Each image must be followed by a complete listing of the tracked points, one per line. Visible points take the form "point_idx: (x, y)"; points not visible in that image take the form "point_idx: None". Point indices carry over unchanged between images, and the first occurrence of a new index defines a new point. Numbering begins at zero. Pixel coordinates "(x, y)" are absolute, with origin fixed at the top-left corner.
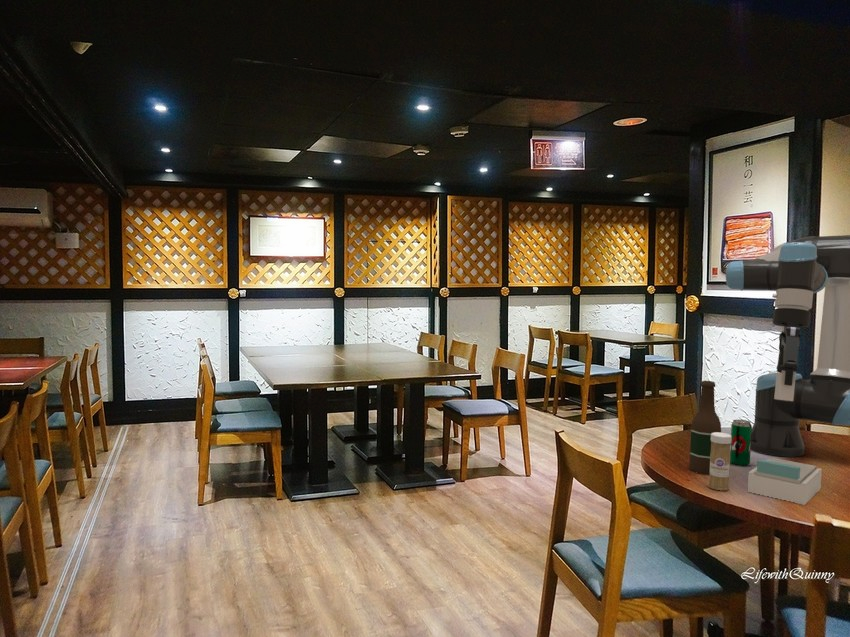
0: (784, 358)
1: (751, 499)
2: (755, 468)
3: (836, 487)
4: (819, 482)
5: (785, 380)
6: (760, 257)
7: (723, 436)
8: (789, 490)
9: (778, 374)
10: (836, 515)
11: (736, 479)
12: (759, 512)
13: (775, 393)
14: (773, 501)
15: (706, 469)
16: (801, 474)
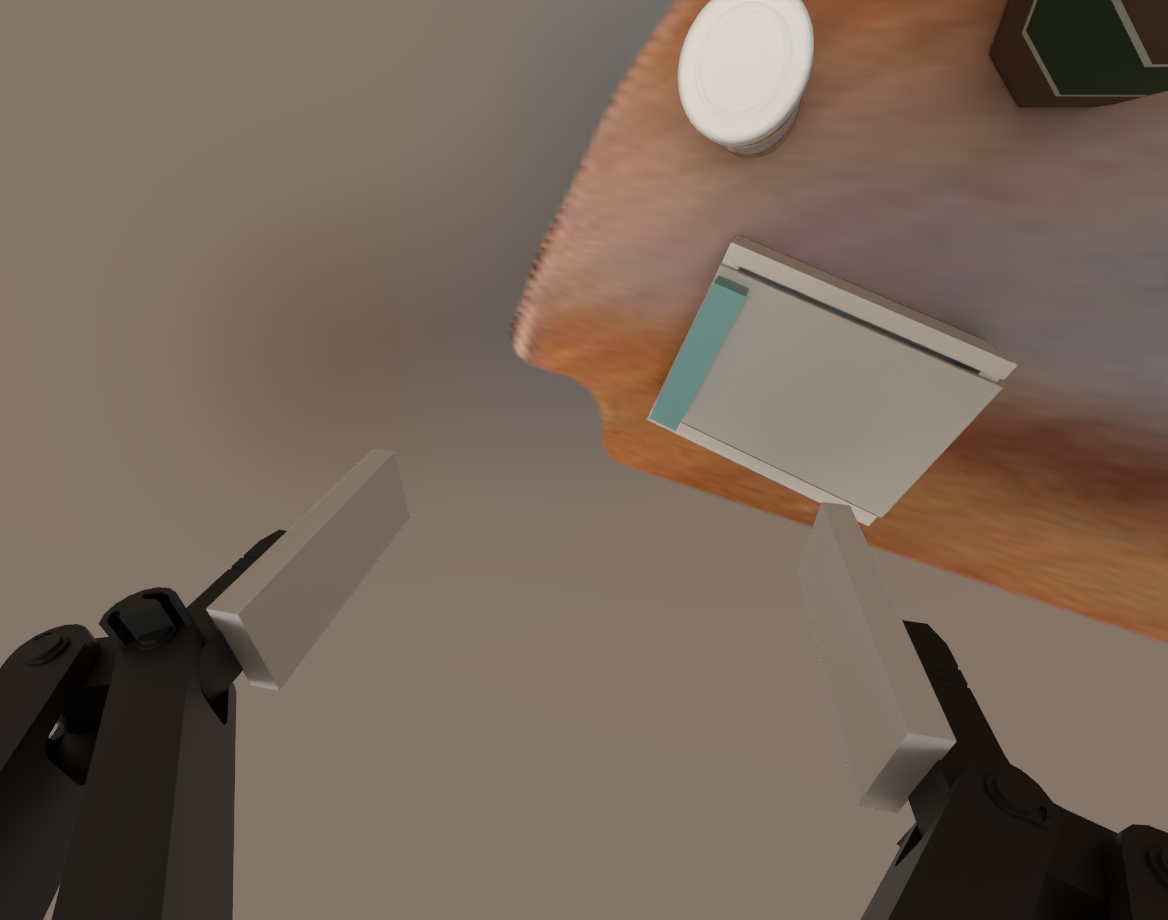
0: (94, 751)
1: (657, 240)
2: (804, 279)
3: (887, 537)
4: None
5: (248, 555)
6: None
7: (681, 84)
8: None
9: (894, 715)
10: (607, 448)
11: (926, 200)
12: (541, 252)
13: (832, 536)
14: (663, 311)
15: (1003, 26)
16: (733, 433)
